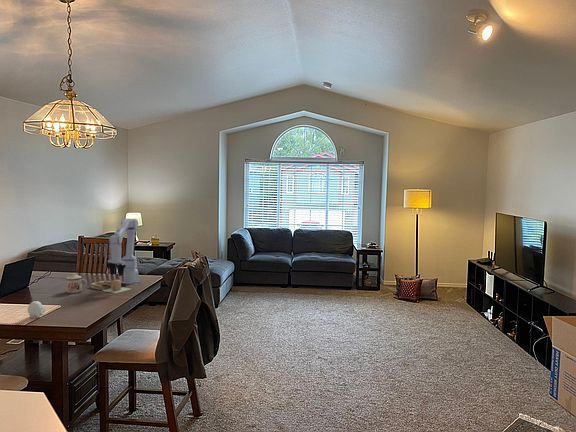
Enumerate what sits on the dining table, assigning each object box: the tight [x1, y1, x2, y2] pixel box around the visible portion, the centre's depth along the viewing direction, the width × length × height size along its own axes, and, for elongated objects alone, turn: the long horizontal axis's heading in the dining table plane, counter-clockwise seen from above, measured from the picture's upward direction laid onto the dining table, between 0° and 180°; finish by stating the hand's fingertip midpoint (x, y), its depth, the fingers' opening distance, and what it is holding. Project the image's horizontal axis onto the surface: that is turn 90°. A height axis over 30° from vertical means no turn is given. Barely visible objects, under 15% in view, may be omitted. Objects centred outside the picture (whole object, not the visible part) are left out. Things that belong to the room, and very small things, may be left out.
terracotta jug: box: [110, 279, 122, 291], centre depth 293 cm, size 7×5×6 cm
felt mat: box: [101, 286, 132, 294], centre depth 294 cm, size 13×13×1 cm
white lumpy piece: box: [27, 300, 46, 319], centre depth 239 cm, size 6×8×12 cm
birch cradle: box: [89, 280, 113, 291], centre depth 302 cm, size 12×12×2 cm
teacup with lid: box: [65, 272, 88, 294], centre depth 290 cm, size 12×9×12 cm
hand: (116, 275), depth 294 cm, fingers open, 7 cm apart
